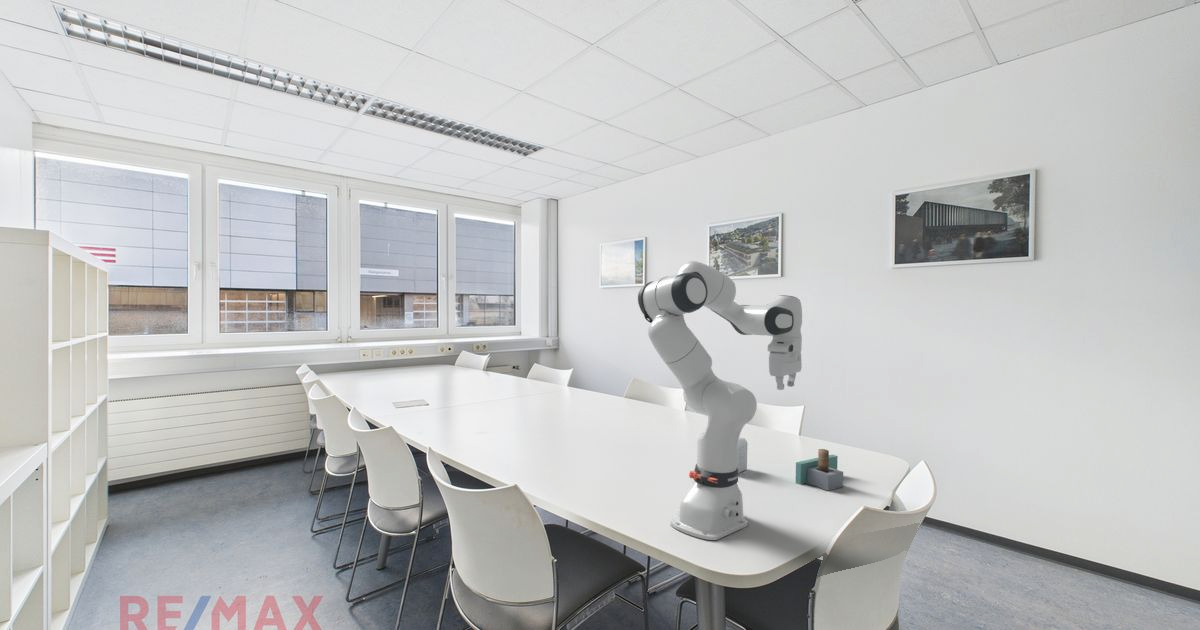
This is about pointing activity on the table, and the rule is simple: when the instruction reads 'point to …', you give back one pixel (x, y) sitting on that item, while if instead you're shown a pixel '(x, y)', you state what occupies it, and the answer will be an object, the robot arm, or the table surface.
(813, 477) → the socket block
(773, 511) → the table surface
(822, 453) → the walnut dowel
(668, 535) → the table surface
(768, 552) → the table surface
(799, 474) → the backstop board
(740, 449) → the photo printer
